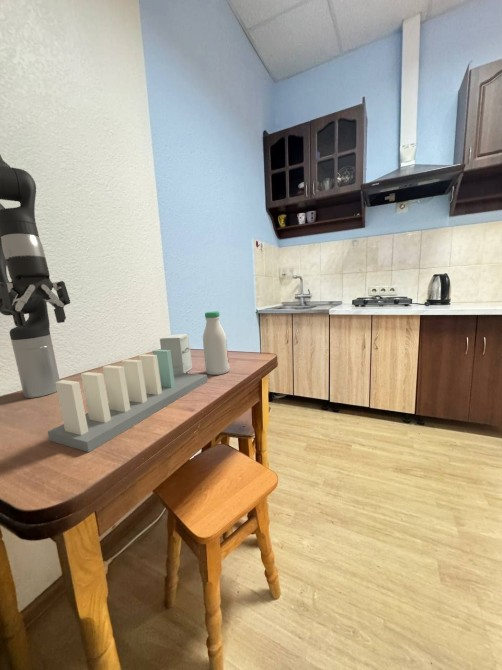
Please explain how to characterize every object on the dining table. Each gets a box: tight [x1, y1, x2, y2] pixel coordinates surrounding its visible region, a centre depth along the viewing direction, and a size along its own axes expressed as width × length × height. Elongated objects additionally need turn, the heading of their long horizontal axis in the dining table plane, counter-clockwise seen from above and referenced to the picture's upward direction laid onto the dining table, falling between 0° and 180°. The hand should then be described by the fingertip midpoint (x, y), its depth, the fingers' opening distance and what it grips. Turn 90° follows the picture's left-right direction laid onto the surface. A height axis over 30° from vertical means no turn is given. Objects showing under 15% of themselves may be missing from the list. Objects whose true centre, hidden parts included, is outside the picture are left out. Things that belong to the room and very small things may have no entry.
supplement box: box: [159, 333, 193, 373], centre depth 95 cm, size 7×7×13 cm
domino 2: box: [80, 371, 111, 423], centre depth 57 cm, size 1×5×10 cm, turn 65°
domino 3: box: [102, 364, 130, 412], centre depth 62 cm, size 1×5×10 cm, turn 65°
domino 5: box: [137, 353, 162, 395], centre depth 71 cm, size 1×5×10 cm, turn 65°
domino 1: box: [55, 379, 88, 435], centre depth 53 cm, size 1×5×10 cm, turn 65°
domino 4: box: [121, 358, 147, 403], centre depth 66 cm, size 1×5×10 cm, turn 65°
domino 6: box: [152, 349, 175, 388], centre depth 75 cm, size 1×5×10 cm, turn 65°
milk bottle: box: [202, 311, 230, 376], centre depth 91 cm, size 8×8×20 cm
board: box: [47, 372, 209, 453], centre depth 69 cm, size 12×38×2 cm, turn 155°
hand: (43, 325), depth 67 cm, fingers open, 8 cm apart
